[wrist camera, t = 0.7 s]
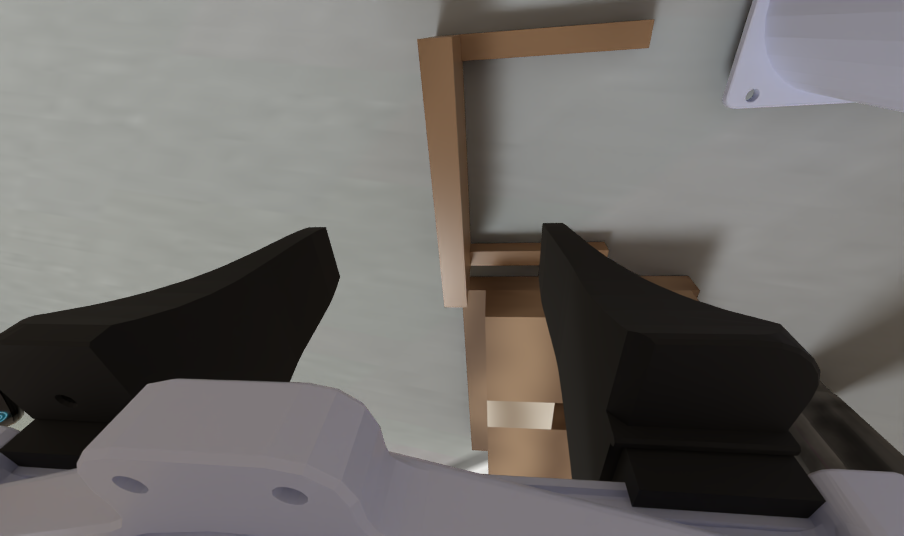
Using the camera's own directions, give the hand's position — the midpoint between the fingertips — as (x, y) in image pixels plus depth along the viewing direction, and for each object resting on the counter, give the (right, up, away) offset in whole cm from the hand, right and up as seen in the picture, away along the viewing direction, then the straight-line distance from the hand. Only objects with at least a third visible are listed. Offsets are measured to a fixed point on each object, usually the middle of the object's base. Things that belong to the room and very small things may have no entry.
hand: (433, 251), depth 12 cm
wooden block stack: (+9, -9, +16) cm, 20 cm away
